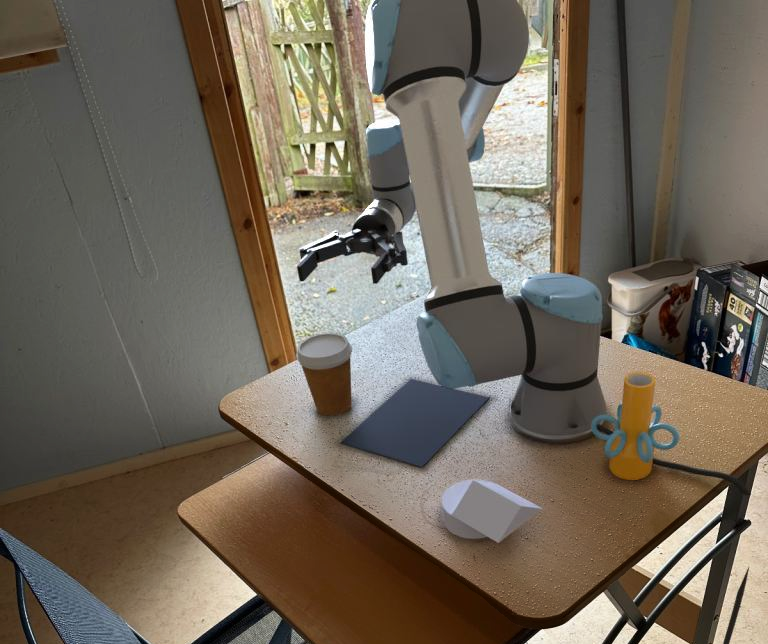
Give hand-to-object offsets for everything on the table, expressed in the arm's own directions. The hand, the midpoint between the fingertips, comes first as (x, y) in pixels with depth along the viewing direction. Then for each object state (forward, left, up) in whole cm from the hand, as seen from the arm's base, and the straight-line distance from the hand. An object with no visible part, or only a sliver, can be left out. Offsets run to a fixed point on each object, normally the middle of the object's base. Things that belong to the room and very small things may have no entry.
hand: (336, 275), depth 131 cm
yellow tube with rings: (-55, +5, -20) cm, 58 cm away
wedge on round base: (-41, +26, -20) cm, 53 cm away
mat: (-19, +7, -20) cm, 28 cm away
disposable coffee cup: (-3, +9, -20) cm, 22 cm away
